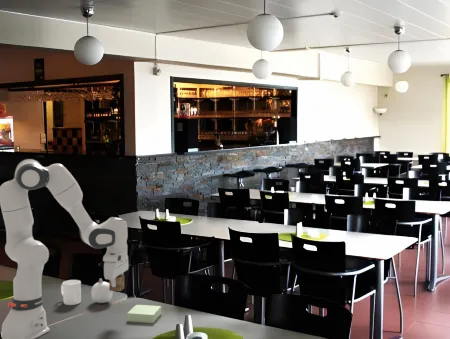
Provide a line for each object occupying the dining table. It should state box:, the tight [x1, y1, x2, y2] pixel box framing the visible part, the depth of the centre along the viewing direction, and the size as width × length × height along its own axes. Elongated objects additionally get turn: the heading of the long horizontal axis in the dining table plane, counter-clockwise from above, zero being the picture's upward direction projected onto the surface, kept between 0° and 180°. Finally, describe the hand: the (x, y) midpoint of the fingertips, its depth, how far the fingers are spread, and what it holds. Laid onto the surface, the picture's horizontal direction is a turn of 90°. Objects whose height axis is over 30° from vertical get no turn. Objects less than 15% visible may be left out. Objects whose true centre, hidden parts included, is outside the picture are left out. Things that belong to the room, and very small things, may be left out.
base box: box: [126, 304, 162, 324], centre depth 249 cm, size 12×12×4 cm
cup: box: [60, 279, 82, 306], centre depth 270 cm, size 8×12×10 cm
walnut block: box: [108, 274, 125, 292], centre depth 246 cm, size 5×5×6 cm
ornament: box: [90, 278, 114, 304], centre depth 269 cm, size 10×10×12 cm
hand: (116, 284), depth 246 cm, fingers closed on walnut block, 5 cm apart
